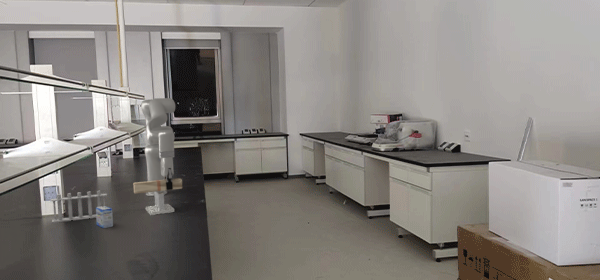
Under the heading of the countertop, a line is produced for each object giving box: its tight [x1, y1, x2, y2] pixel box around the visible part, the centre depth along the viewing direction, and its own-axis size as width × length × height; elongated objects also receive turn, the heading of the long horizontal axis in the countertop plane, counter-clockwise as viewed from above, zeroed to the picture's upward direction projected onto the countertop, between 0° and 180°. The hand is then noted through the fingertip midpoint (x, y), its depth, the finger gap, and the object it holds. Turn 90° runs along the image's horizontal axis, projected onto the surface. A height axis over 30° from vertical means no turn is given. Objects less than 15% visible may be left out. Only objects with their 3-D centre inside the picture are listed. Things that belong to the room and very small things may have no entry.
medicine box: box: [95, 205, 114, 229], centre depth 203 cm, size 8×4×9 cm, turn 47°
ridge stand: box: [145, 191, 175, 216], centre depth 230 cm, size 14×12×10 cm
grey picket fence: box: [50, 190, 108, 224], centre depth 218 cm, size 25×4×13 cm, turn 115°
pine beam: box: [132, 177, 183, 195], centre depth 230 cm, size 4×24×5 cm, turn 119°
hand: (168, 188), depth 232 cm, fingers closed on pine beam, 3 cm apart
